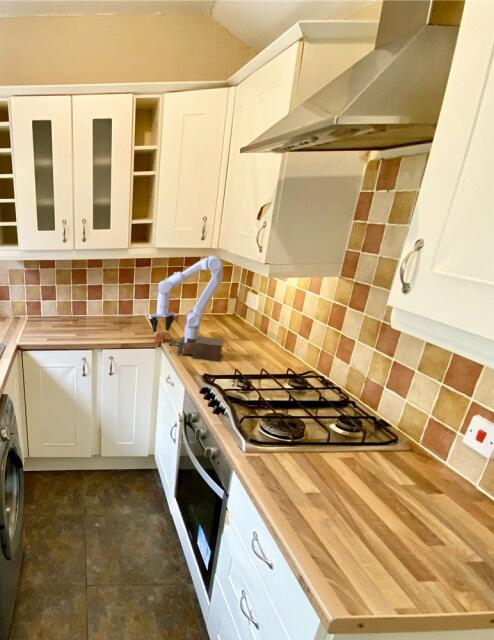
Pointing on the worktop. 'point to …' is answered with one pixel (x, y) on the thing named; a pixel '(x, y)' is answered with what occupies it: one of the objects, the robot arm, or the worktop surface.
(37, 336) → the worktop surface
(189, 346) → the drawer
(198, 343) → the cabinet
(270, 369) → the worktop surface
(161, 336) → the block
